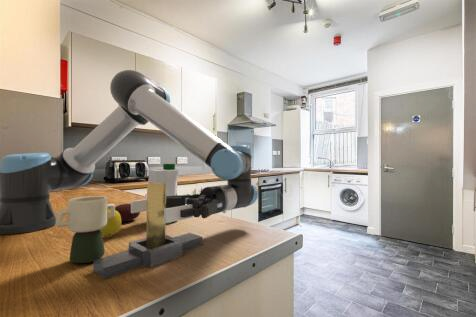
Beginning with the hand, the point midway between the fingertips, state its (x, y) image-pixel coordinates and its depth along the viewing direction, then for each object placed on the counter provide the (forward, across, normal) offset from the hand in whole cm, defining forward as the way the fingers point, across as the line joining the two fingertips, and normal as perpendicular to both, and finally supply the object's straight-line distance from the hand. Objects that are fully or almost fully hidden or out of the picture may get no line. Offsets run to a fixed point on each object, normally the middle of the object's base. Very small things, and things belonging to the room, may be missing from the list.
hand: (146, 211), depth 50 cm
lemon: (-1, +21, -10) cm, 24 cm away
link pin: (-2, 0, -10) cm, 10 cm away
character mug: (+8, +9, -10) cm, 16 cm away
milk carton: (-20, +25, -10) cm, 34 cm away
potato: (-12, +35, -10) cm, 39 cm away
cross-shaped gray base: (-2, 0, -10) cm, 10 cm away
